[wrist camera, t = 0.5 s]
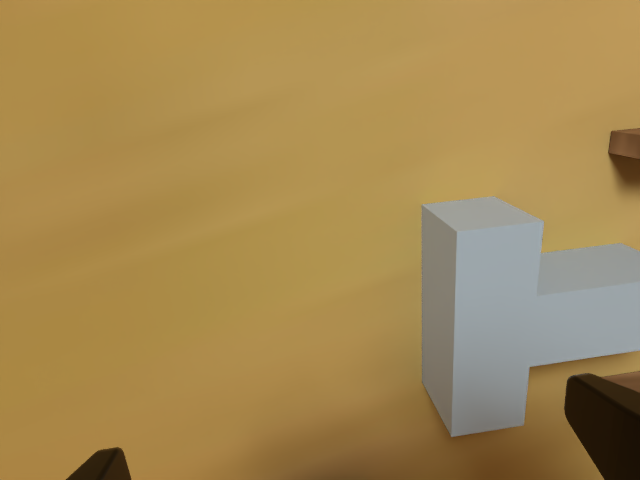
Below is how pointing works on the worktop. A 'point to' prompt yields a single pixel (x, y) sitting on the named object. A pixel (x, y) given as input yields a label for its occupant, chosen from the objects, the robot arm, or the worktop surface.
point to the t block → (512, 309)
